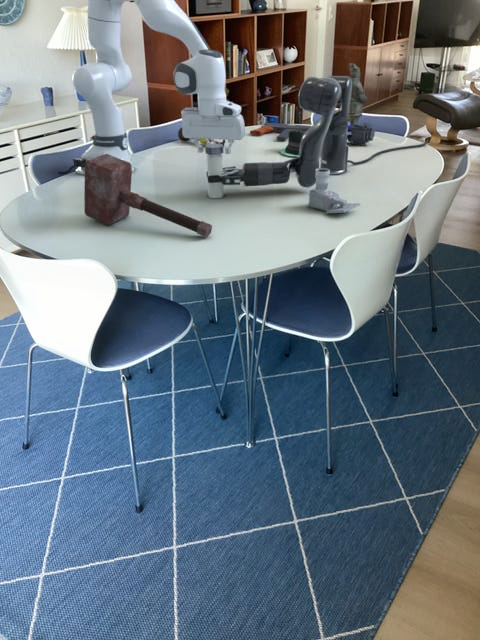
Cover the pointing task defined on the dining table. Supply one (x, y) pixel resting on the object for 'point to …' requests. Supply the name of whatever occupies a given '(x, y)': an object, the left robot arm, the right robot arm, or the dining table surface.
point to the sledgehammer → (124, 196)
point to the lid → (214, 149)
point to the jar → (215, 169)
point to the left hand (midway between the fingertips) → (214, 152)
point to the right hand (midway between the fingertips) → (207, 176)
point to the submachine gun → (277, 129)
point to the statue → (356, 95)
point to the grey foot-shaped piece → (327, 195)
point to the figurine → (203, 141)
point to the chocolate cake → (294, 142)
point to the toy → (360, 133)
